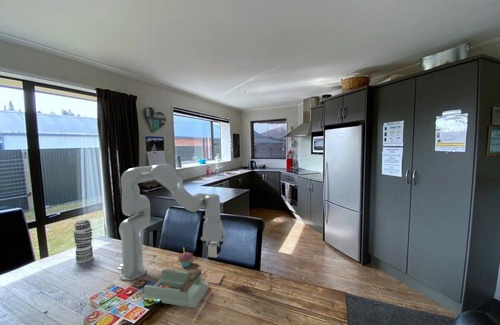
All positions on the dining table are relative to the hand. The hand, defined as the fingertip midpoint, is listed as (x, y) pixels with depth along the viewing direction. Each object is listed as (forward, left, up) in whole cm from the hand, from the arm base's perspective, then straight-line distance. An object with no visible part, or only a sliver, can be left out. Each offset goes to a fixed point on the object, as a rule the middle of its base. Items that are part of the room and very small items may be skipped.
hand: (214, 252), depth 109 cm
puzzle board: (-13, -14, -14) cm, 24 cm away
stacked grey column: (-89, +4, -15) cm, 90 cm away
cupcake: (-22, +10, -15) cm, 28 cm away
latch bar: (-6, -14, -8) cm, 17 cm away
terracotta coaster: (0, 0, -14) cm, 14 cm away
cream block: (0, 0, -1) cm, 1 cm away
